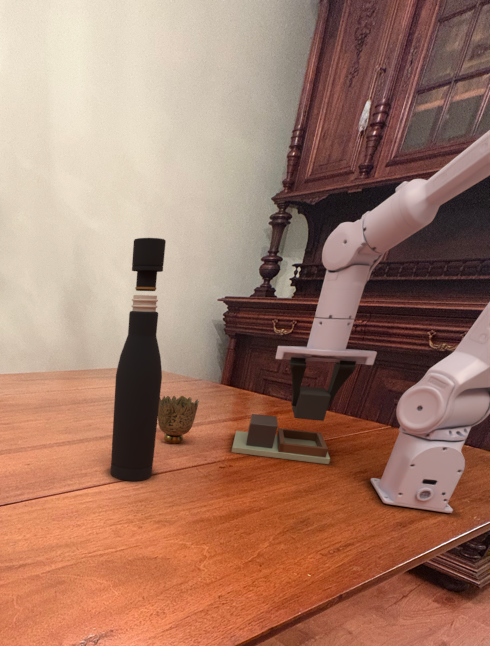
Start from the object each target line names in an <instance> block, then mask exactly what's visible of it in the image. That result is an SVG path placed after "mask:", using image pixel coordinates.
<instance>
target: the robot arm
mask: <svg viewBox="0 0 490 646" xmlns="http://www.w3.org/2000/svg"><path fill="white" fill-rule="evenodd" d="M489 176H490V129H489V130H488V131H486V132H485V133H484V134H482V135H481V136H480V137H479V138H478V139H476V140H475V141H474V142H473V143H471V144H470V145H469V146H468V147H467V148H465V149H464V150H463V151H462V152H460V153H459V154H458V155H457V156H455V157H454V158H453V159H452V160H450V161H449V162H448V163H447V164H445V165H444V166H443V167H442V168H441V169H439V170H438V171H437V172H435V173H434V174H433V175H432V176H431V177H429V178H428V179H423V178H414V179H412V180H410V181H406V180H405V181H403V182H401V183H400V184H399V185H398V186H397V187H396V188H395V192H394V193H393V194H392V195H390V196H389V197H387V198H386V199H385V200H384V201H382V202H381V203H380V204H379V205H377V206H376V207H375V208H373V209H372V210H368V211H365V213H363V214H362V216H361V218H360V219H356V221H354V222H352V221H345V222H341V223H339V225H337V227H336V228H335V229H333V231H332V232H331V233H330V234H329V235H328V237H327V239H326V240H325V242H324V244H323V248H322V252H321V261H322V265H323V266H324V268H325V269H326V271H325V275H324V279H323V283H322V286H321V291H320V295H319V298H318V302H317V306H316V311H315V314H314V318H313V322H312V326H311V329H310V333H309V336H308V341H307V345H306V346H291V345H289V346H288V345H278V346H277V349H276V353H275V360H288V364H289V368H290V375H291V385H292V387H291V388H292V389H291V390H292V392H291V393H292V395H291V396H292V397H291V402H290V404H291V406H292V407H293V406H296V404H297V400H298V397H299V391H300V386H302V382H303V379H304V376H305V372H306V369H307V361H308V362H325V363H334V365H333V368H332V373H331V378H330V381H329V386H328V387H327V392H328V393H329V394H330V396H331V398H330V401H329V405H328V408H327V410H329V408H330V406H331V404H332V402H333V400H334V399H335V397H336V396H337V394H338V392H339V391H340V389H341V388H342V386H344V384H345V383H346V381H348V379H349V378H350V376H352V374H353V373H354V372H355V371H356V368H357V365H365V366H373V365H374V364H375V360H376V357H377V354H378V352H377V351H375V350H366V349H365V350H364V349H362V350H361V349H351V348H347V346H348V342H349V339H350V337H351V333H352V329H353V326H354V322H355V319H356V316H357V312H358V309H359V306H360V302H361V299H362V297H363V293H364V289H365V286H366V284H367V282H369V281H370V277H371V274H372V271H373V270H374V269H375V268H376V266H378V264H379V263H380V262H381V260H382V259H383V257H384V255H385V253H386V252H388V251H389V250H391V249H393V248H394V247H395V246H397V245H399V244H400V243H402V242H403V241H405V240H406V239H408V238H409V237H412V236H413V235H414V234H415V233H417V232H419V231H420V230H422V229H424V228H425V227H426V226H428V225H430V224H431V223H432V222H433V221H434V219H435V217H436V215H437V213H438V211H439V208H440V206H442V205H443V204H445V203H447V202H448V201H450V200H452V199H453V198H455V197H457V196H458V195H461V194H462V193H463V192H465V191H466V190H469V189H470V188H472V187H473V186H474V185H476V184H478V183H479V182H481V181H483V180H484V179H486V178H489ZM313 356H314V357H313ZM315 356H321V357H315ZM329 357H332V358H329ZM333 357H335V358H333ZM356 364H357V365H356ZM395 411H396V412H395V413H396V414H395V415H396V420H397V423H398V424H399V425H400V426H399V428H398V435H397V437H396V440H395V443H394V444H393V448H392V450H391V453H390V455H389V458H388V460H387V463H386V465H385V468H384V471H383V473H382V476H381V478H376V477H371V478H370V480H369V481H370V483H371V484H372V486H373V488H374V490H375V491H376V494H378V496H379V498H380V499H381V501H382V503H383V504H386V505H392V506H397V507H398V506H399V507H405V508H413V509H418V510H425V511H433V512H439V513H446V514H453V512H454V509H453V508H452V506H451V505H450V504H449V502H450V500H451V497H452V496H453V493H454V491H455V490H456V487H457V486H458V483H459V481H460V479H461V477H462V475H463V473H464V471H465V467H466V460H465V457H464V455H463V453H462V449H463V447H464V445H465V443H466V440H467V438H468V436H469V434H470V431H471V429H472V427H476V426H477V425H479V424H480V423H482V422H483V421H484V420H485V419H487V418H488V416H489V415H490V301H489V302H488V303H487V304H486V305H485V307H484V308H483V310H482V311H481V313H480V314H479V316H478V317H477V318H476V320H475V321H474V323H473V324H472V326H471V327H470V329H469V330H468V331H467V332H466V333H465V336H464V337H463V338H462V339H461V341H460V342H459V344H458V345H457V346H456V348H455V349H454V350H453V352H451V353H450V354H449V355H448V356H445V357H444V358H443V359H441V360H440V361H438V362H437V363H436V364H434V365H433V366H431V367H430V368H429V369H428V370H427V371H426V373H424V376H423V377H422V378H421V379H420V380H419V381H418V382H417V383H416V384H413V386H411V387H410V388H408V389H407V390H406V391H405V392H404V393H402V395H401V396H400V398H399V400H398V402H397V405H396V410H395Z"/></svg>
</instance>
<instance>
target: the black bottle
mask: <svg viewBox="0 0 490 646" xmlns="http://www.w3.org/2000/svg"><path fill="white" fill-rule="evenodd" d="M166 242H167V241H166V239H165V238H160V237H139V238H138V237H137V238H134V240H133V245H132V246H133V247H132V262H131V266H132V267H131V272H136V284H135V288H134V289H135V291H136V292H156V291H157V278H158V273H162V272H164V264H165V252H166ZM131 301H132V304H131V308H132V310H130V311H129V313H128V328H127V336H126V339H125V341H124V344H123V347H122V350H121V352H120V355H119V358H118V359H119V360H118V363H117V368H116V373H115V382H114V383H115V385H114V400H113V401H114V402H113V403H114V404H113V421H112V439H111V455H110V456H111V459H110V475H111V476H112V477H114V478H115V479H118V480H122V481H127V482H140V481H145V480H148V479H150V478H151V477H152V475H153V466H154V456H155V447H156V437H157V429H158V428H157V426H158V410H159V400H160V399H161V389H162V382H163V381H162V380H163V372H162V359H161V357H162V356H161V352H160V347H159V342H158V338H157V331H158V320H159V312H158V311H157V308H158V305H157V303H158V301H159V300H158V295H149V294H147V295H146V294H134V295H133V298H132V299H131Z"/></svg>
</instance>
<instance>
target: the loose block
mask: <svg viewBox="0 0 490 646" xmlns="http://www.w3.org/2000/svg"><path fill="white" fill-rule="evenodd" d="M327 391H328V389H326V388H325V387H316V386H303V385H301V386H300V391H299V397H298V400H297V404H296V406H292V407H291V409H292V413H293V417H294V419H300V420H301V419H302V420H309V421H310V420H311V421H320V422H324V421H325V417H326V414H327V411H328V409H329V408H328V405H329V401H330V398H331V396H330V394H329V393H328V392H327ZM327 408H328V409H327Z"/></svg>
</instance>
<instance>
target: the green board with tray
mask: <svg viewBox="0 0 490 646" xmlns="http://www.w3.org/2000/svg"><path fill="white" fill-rule="evenodd" d="M278 427H279V426H278V416H276V415H267V414H266V415H265V414H257V413H255V414H254V413H252V414H251V416H250V421H249V425H248V430H247V431H242V430H236V431H235V434H234V438H233V442H232V447H231V453H235V454H243V455H249V456H258V457H265V458H273V459H283V460H290V461H299V462H306V463H314V464H321V465H330V462H331V457H330V455H329V448H328V446H327V443H326V441H325V438H324V435H323V434H322V432H318V431H308V430H298V429H290V428H280V427H279V428H278Z"/></svg>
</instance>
